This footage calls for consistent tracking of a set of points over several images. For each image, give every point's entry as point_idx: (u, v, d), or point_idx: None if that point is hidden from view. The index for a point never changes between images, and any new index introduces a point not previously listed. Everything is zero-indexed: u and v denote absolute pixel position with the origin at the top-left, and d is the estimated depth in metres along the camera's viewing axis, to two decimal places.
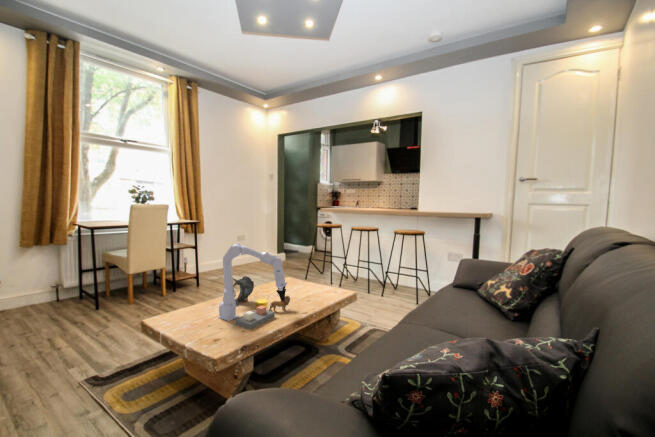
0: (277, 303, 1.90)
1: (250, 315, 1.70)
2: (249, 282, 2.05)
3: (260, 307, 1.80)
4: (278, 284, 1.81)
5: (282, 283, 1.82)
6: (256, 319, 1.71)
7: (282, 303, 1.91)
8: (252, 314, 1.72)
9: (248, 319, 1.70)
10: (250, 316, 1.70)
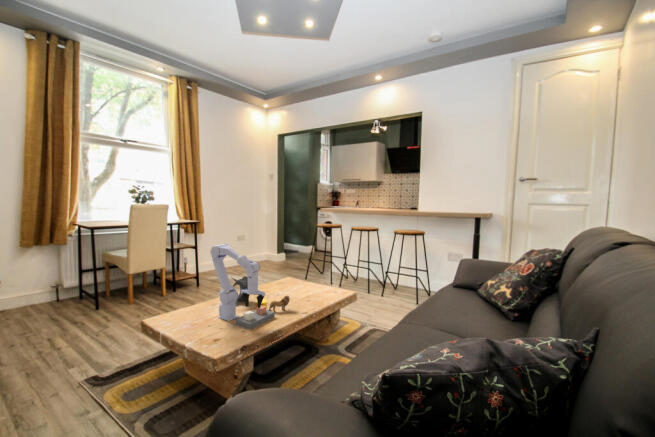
0: (277, 303, 1.90)
1: (250, 315, 1.70)
2: None
3: (260, 307, 1.80)
4: None
5: (247, 290, 1.71)
6: (256, 319, 1.71)
7: (282, 303, 1.91)
8: (252, 314, 1.72)
9: (248, 319, 1.70)
10: (250, 316, 1.70)
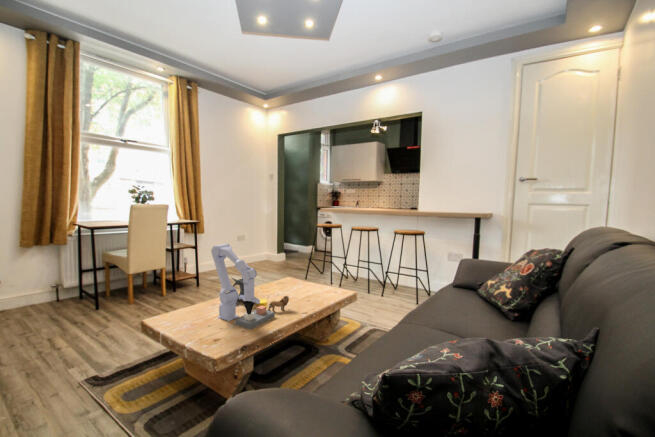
0: (276, 303, 1.90)
1: (250, 316, 1.70)
2: None
3: (260, 307, 1.80)
4: None
5: None
6: (256, 319, 1.71)
7: (281, 303, 1.91)
8: (252, 315, 1.72)
9: (248, 320, 1.70)
10: (250, 317, 1.70)
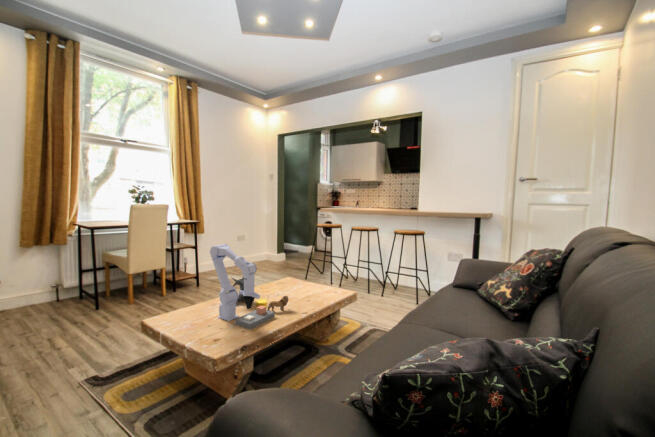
0: (275, 303, 1.90)
1: (250, 319, 1.70)
2: None
3: (260, 307, 1.80)
4: None
5: None
6: (256, 319, 1.71)
7: (280, 303, 1.91)
8: (252, 318, 1.72)
9: None
10: (250, 320, 1.70)
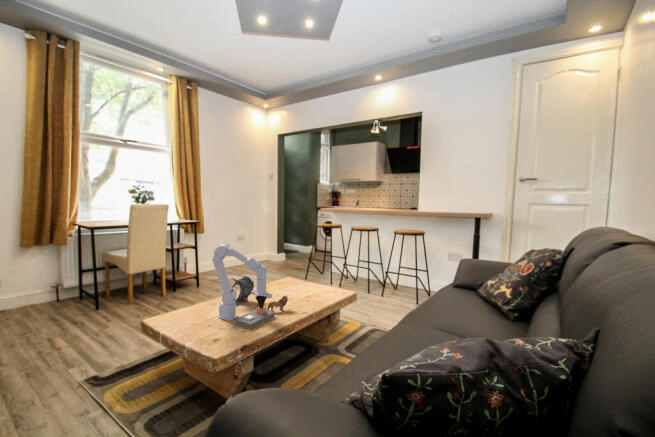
0: (275, 303, 1.90)
1: (250, 319, 1.70)
2: (249, 282, 2.05)
3: (260, 308, 1.80)
4: None
5: None
6: (256, 319, 1.71)
7: (280, 303, 1.91)
8: (252, 318, 1.72)
9: None
10: (250, 320, 1.70)
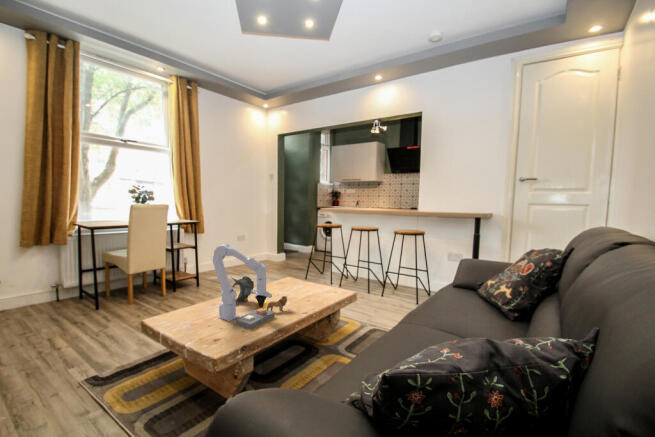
0: (274, 303, 1.90)
1: (250, 319, 1.70)
2: (249, 282, 2.05)
3: (260, 310, 1.80)
4: None
5: None
6: (256, 319, 1.71)
7: (279, 303, 1.91)
8: (252, 318, 1.72)
9: None
10: (250, 320, 1.70)
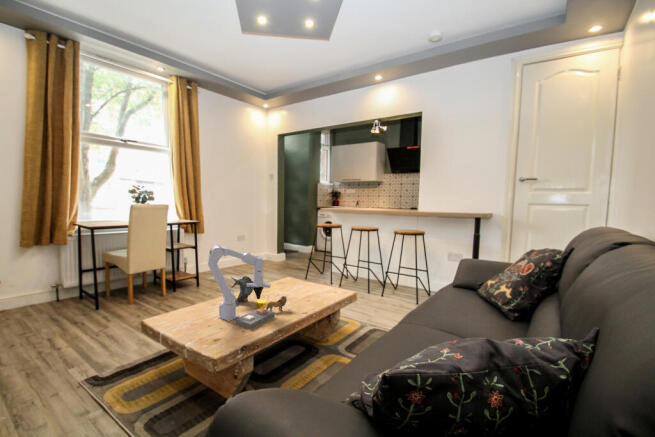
0: (274, 303, 1.89)
1: (250, 319, 1.70)
2: (249, 282, 2.05)
3: (260, 310, 1.80)
4: None
5: (253, 283, 1.85)
6: (256, 319, 1.71)
7: (279, 303, 1.90)
8: (252, 318, 1.72)
9: None
10: (250, 320, 1.70)
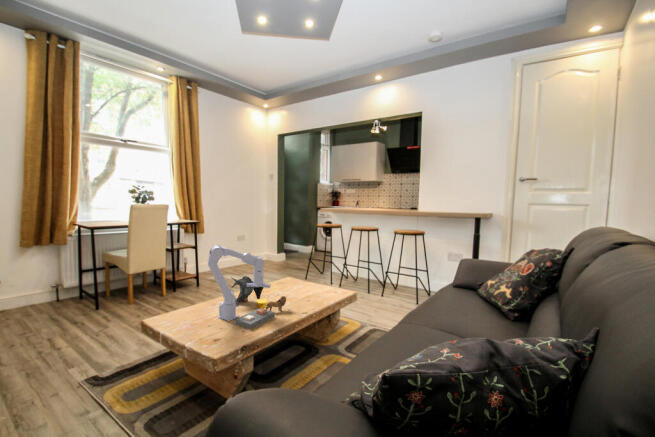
0: (273, 303, 1.89)
1: (250, 319, 1.70)
2: (249, 282, 2.05)
3: (260, 310, 1.80)
4: None
5: (253, 283, 1.85)
6: (256, 319, 1.71)
7: (278, 303, 1.90)
8: (252, 318, 1.72)
9: None
10: (250, 320, 1.70)
